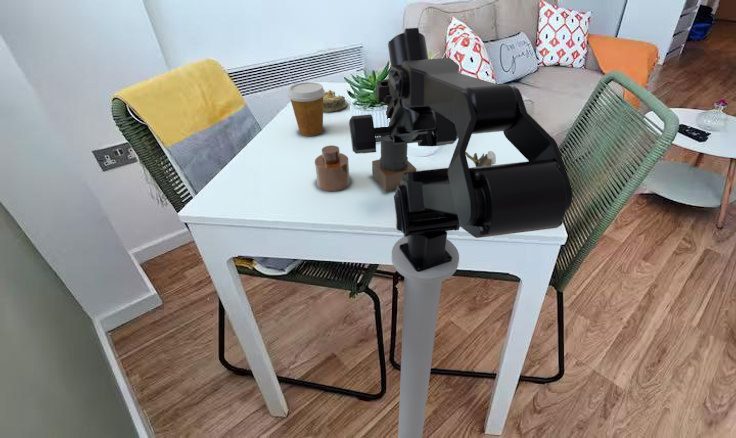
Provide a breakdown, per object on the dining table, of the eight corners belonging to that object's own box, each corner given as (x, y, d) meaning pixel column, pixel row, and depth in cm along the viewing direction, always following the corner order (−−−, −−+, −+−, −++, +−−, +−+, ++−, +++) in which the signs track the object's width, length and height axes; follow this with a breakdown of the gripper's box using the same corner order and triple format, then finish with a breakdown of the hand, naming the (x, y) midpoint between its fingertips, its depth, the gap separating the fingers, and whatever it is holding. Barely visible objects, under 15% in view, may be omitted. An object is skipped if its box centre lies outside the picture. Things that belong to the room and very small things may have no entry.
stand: (415, 184, 80) (416, 168, 78) (385, 192, 78) (385, 176, 76) (400, 170, 85) (401, 154, 83) (372, 177, 83) (371, 160, 81)
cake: (328, 117, 113) (325, 99, 109) (310, 108, 119) (306, 92, 115) (354, 105, 117) (352, 88, 114) (335, 98, 123) (332, 81, 120)
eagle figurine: (453, 167, 83) (466, 181, 75) (473, 139, 81) (488, 151, 73) (480, 183, 85) (495, 198, 77) (500, 156, 83) (518, 169, 75)
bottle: (354, 186, 80) (352, 152, 75) (323, 194, 78) (319, 160, 73) (343, 171, 85) (340, 139, 81) (313, 178, 83) (309, 145, 79)
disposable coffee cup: (306, 122, 109) (300, 79, 101) (335, 127, 105) (331, 83, 98) (286, 135, 102) (279, 91, 95) (316, 141, 98) (311, 95, 91)
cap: (411, 167, 78) (412, 133, 74) (387, 173, 76) (387, 139, 72) (399, 156, 82) (400, 123, 78) (376, 161, 80) (376, 128, 76)
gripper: (461, 60, 61) (435, 103, 77) (346, 69, 59) (344, 111, 75) (472, 126, 60) (444, 155, 75) (355, 137, 58) (351, 165, 73)
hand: (396, 145), depth 75 cm, fingers open, 9 cm apart
